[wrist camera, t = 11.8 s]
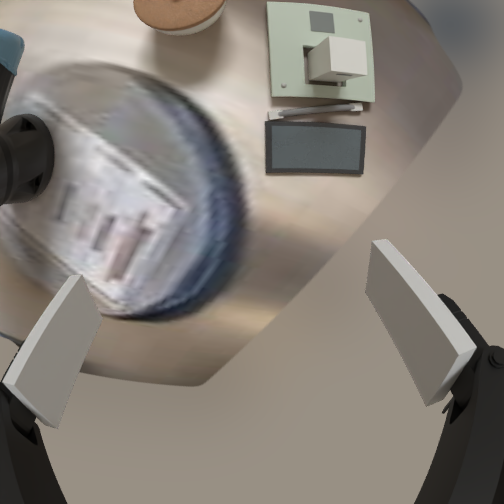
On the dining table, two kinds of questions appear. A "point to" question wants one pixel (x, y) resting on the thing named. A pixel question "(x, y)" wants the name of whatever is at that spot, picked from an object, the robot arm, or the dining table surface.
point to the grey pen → (314, 110)
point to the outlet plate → (309, 36)
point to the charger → (337, 60)
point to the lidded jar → (179, 14)
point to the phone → (314, 147)
